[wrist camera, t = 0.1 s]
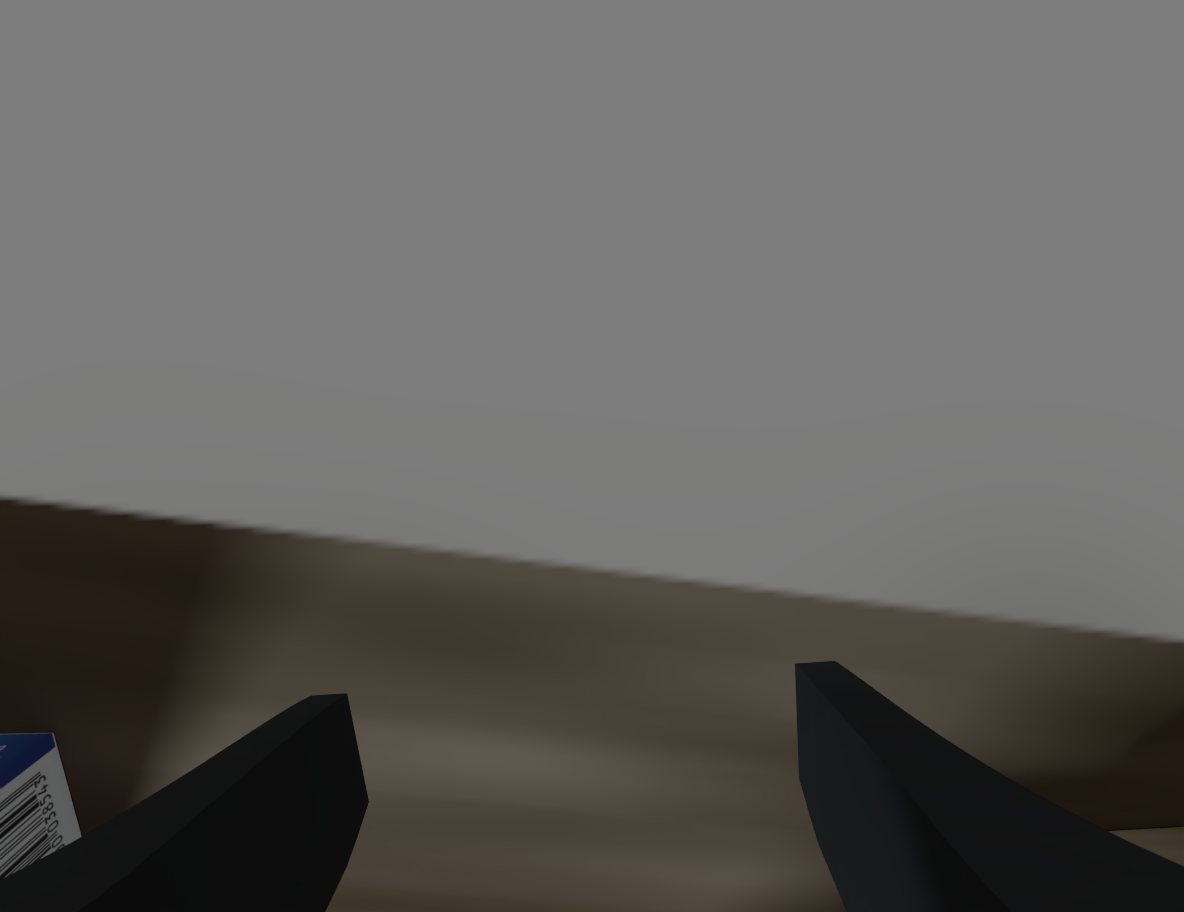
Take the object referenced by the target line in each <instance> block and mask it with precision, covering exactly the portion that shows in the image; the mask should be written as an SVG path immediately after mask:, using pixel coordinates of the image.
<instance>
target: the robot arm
mask: <svg viewBox="0 0 1184 912" xmlns="http://www.w3.org/2000/svg"><path fill="white" fill-rule="evenodd" d="M795 676H796V704H797V731H798V759H799V779H800V783H801V786H802V790H803V793H804V797H805V800H806V804H807V807H808V811H809V814H810V817H811V821H812V824H813V827H814V830H815V834H816V837H817V840H818V843H819V846H820V848H821V851H822V853H823V856H824V858H825V861H826V863H827V865H828V868H829V870H830V873H831V875H832V877H833V880H834V882H835V885H836V887H837V889H838V892H839V894H840V896H841V899H842V901H843V904H844V906H845V908H846V911H847V912H1184V866H1182V865H1180V864H1178V863H1175V862H1173V861H1171V860H1169V859H1166V858H1164V857H1162V856H1160V855H1158V854H1155V853H1153V852H1151V851H1149V850H1147V849H1144V848H1142V847H1140V846H1138V845H1135V844H1133V843H1131V842H1129V841H1127V840H1125V839H1123V838H1121V837H1118V836H1116V835H1114V834H1112V833H1110V832H1108V831H1106V830H1104V829H1102V828H1100V827H1098V826H1096V825H1094V824H1092V823H1090V822H1088V821H1086V820H1084V819H1082V818H1080V817H1078V816H1077V815H1075V814H1073V813H1071V812H1069V811H1067V810H1065V809H1063V808H1061V807H1060V806H1058V805H1056V804H1054V803H1052V802H1050V801H1048V800H1046V799H1044V798H1043V797H1041V796H1039V795H1037V794H1035V793H1033V792H1031V791H1030V790H1028V789H1026V788H1024V787H1023V786H1021V785H1019V784H1017V783H1016V782H1014V781H1012V780H1010V779H1009V778H1007V777H1005V776H1004V775H1002V774H1000V773H999V772H997V771H995V770H994V769H992V768H991V767H989V766H987V765H986V764H984V763H983V762H981V761H979V760H978V759H976V758H974V757H973V756H971V755H970V754H968V753H966V752H965V751H963V750H962V749H960V748H958V747H957V746H955V745H954V744H952V743H951V742H949V741H948V740H946V739H945V738H943V737H942V736H940V735H939V734H937V733H936V732H934V731H933V730H931V729H930V728H928V727H927V726H925V725H924V724H923V723H921V722H920V721H918V720H917V719H915V718H914V717H912V716H911V715H910V714H908V713H907V712H905V711H904V710H903V709H901V708H900V707H898V706H897V705H896V704H894V703H893V702H891V701H890V700H889V699H887V698H886V697H885V696H883V695H882V694H880V693H879V692H878V691H876V690H875V689H874V688H872V687H871V686H869V685H868V684H867V683H865V682H864V681H863V680H861V679H860V678H859V677H857V676H856V675H854V674H853V673H852V672H850V671H849V670H848V669H846V668H845V667H843V666H842V665H840V664H839V663H837V662H836V661H828V662H813V663H798V664H795ZM368 803H369V800H368V795H367V790H366V785H365V780H364V775H363V770H362V765H361V760H360V755H359V750H358V746H357V741H356V736H355V731H354V726H353V721H352V716H351V711H350V706H349V701H348V696H347V693H345V694H330V695H315V696H310V697H308V698H306V699H304V700H302V701H300V702H298V703H296V704H295V705H293V706H291V707H289V708H288V709H286V710H284V711H283V712H281V713H280V714H278V715H276V716H275V717H273V718H272V719H270V720H268V721H267V722H265V723H264V724H262V725H261V726H259V727H258V728H256V729H255V730H253V731H251V732H250V733H248V734H247V735H245V736H244V737H242V738H241V739H239V740H238V741H236V742H235V743H233V744H232V745H230V746H228V747H227V748H225V749H224V750H222V751H221V752H219V753H218V754H216V755H215V756H213V757H212V758H210V759H209V760H207V761H205V762H204V763H202V764H201V765H199V766H198V767H196V768H195V769H193V770H192V771H190V772H189V773H187V774H185V775H184V776H182V777H180V778H179V779H177V780H176V781H174V782H172V783H171V784H169V785H167V786H166V787H164V788H163V789H161V790H159V791H158V792H156V793H154V794H153V795H151V796H150V797H148V798H146V799H145V800H143V801H141V802H140V803H138V804H136V805H135V806H133V807H132V808H130V809H128V810H127V811H125V812H123V813H122V814H120V815H119V816H117V817H115V818H114V819H112V820H110V821H108V822H107V823H105V824H103V825H102V826H100V827H98V828H96V829H95V830H93V831H91V832H89V833H87V834H86V835H84V836H82V837H80V838H79V839H77V840H75V841H73V842H71V843H70V844H68V845H66V846H64V847H62V848H60V849H58V850H56V851H55V852H53V853H51V854H49V855H47V856H45V857H43V858H41V859H39V860H38V861H36V862H34V863H32V864H30V865H28V866H26V867H24V868H23V869H21V870H19V871H17V872H15V873H13V874H11V875H9V876H7V877H5V878H3V879H1V880H0V912H325V911H326V909H327V907H328V905H329V903H330V901H331V899H332V896H333V894H334V892H335V890H336V888H337V886H338V884H339V882H340V880H341V878H342V875H343V873H344V871H345V869H346V867H347V864H348V861H349V859H350V856H351V853H352V850H353V848H354V845H355V842H356V839H357V837H358V833H359V830H360V827H361V824H362V821H363V818H364V815H365V812H366V809H367V806H368Z"/></svg>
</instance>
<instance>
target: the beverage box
mask: <svg viewBox="0 0 1184 912" xmlns="http://www.w3.org/2000/svg"><path fill="white" fill-rule="evenodd" d="M80 837H82V836H81V832H80V829H79V825H78V821H77V817H76V814H75V810H74V806H73V803H72V799H71V795H70V792H69V788H68V784H67V781H66V777H65V773H64V770H63V766H62V762H61V758H60V755H59V751H58V747H57V744H56V740H55V736H54V733H53V732H52V733H14V734H0V880H1V879H3V878H5V877H7V876H9V875H11V874H13V873H15V872H17V871H19V870H21V869H23V868H24V867H26V866H28V865H30V864H32V863H34V862H36V861H38V860H39V859H41V858H43V857H45V856H47V855H49V854H51V853H53V852H55V851H56V850H58V849H60V848H62V847H64V846H66V845H68V844H70V843H71V842H73V841H75V840H77V839H79V838H80Z"/></svg>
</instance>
